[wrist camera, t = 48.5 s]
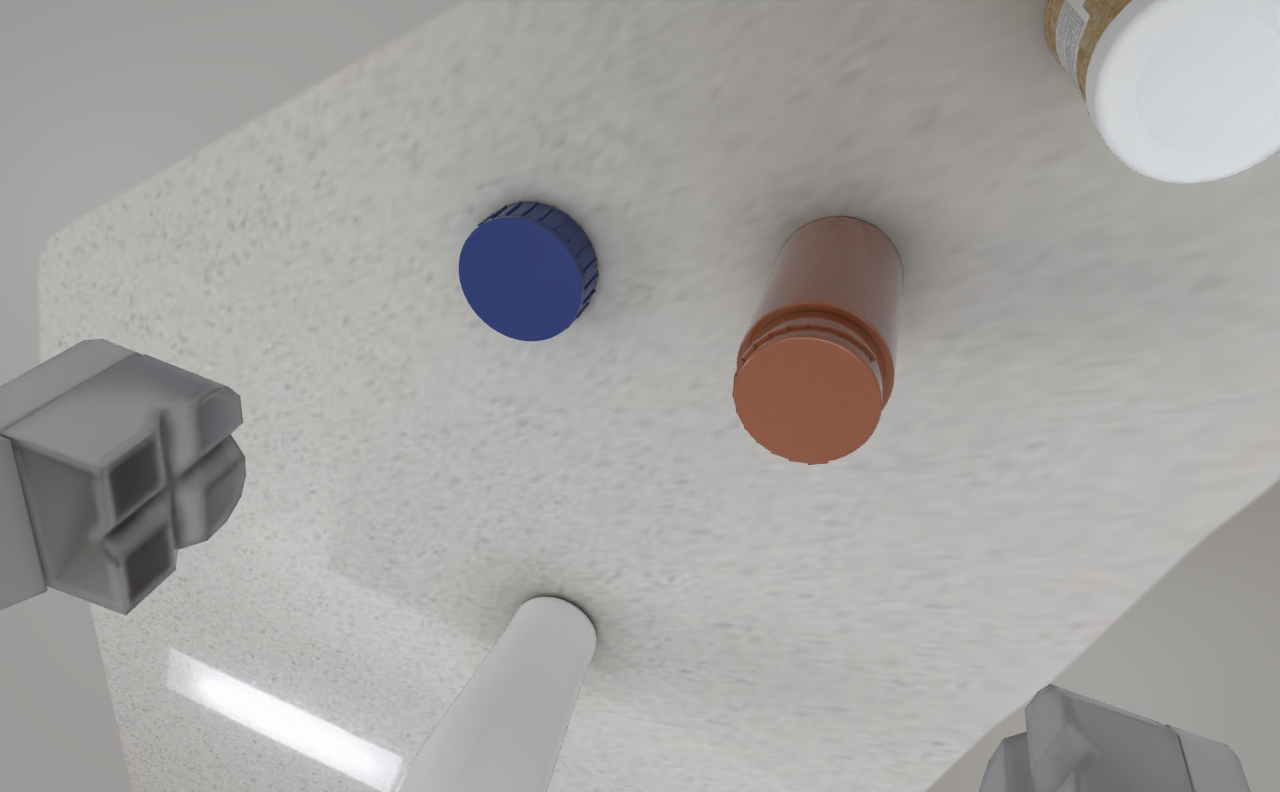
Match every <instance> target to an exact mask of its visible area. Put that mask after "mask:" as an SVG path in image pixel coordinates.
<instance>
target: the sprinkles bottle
mask: <svg viewBox="0 0 1280 792" xmlns="http://www.w3.org/2000/svg"><path fill="white" fill-rule="evenodd" d="M1045 35H1046V40H1047V44H1048V47H1049V49H1050V50H1051V52H1052V54H1053V56H1054V57H1055V59H1056V60H1057V61H1058V62H1059V63H1060V64H1062V66H1063V68H1064V70H1065V71H1066V73H1067V75H1068V76H1069V78H1070V79H1071V81H1072V83H1073V84H1074V86H1075V87H1076V89H1077V90H1078V92H1079V93H1080V95H1081V96H1082V98H1083V100H1084V101H1085V103H1086V104H1087V109H1088V113H1089V116H1090V118H1091V120H1092V123H1093V125H1094V127H1095V128H1096V130H1097V132H1098V133H1099V135H1100V136H1101V138H1102V139H1103V141H1104V143H1105V144H1106V145H1107V147H1108V148H1109V149H1110V150H1111V151H1112V153H1113V154H1114V155H1115V156H1116V157H1117V158H1118V159H1119V160H1120V161H1121V162H1123V163H1124V164H1125V165H1126V166H1128V167H1129V168H1131V169H1132V170H1134V171H1135V172H1138V173H1140V174H1142V175H1144V176H1146V177H1149V178H1152V179H1156V180H1160V181H1164V182H1169V183H1181V184H1188V183H1201V182H1208V181H1214V180H1218V179H1222V178H1225V177H1229V176H1232V175H1234V174H1237V173H1239V172H1242V171H1244V170H1246V169H1248V168H1250V167H1252V166H1254V165H1256V164H1258V163H1260V162H1261V161H1263V160H1264V159H1266V158H1268V157H1269V156H1270V155H1272V154H1273V153H1274V152H1276V151H1277V150H1278V149H1279V148H1280V0H1049V3H1048V5H1047V8H1046V11H1045Z"/></svg>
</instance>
